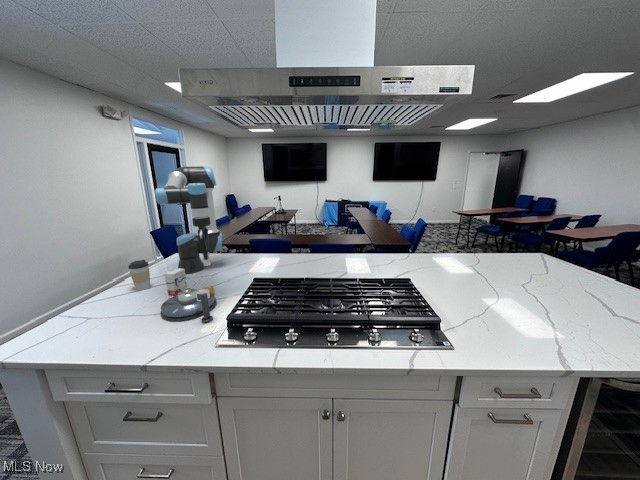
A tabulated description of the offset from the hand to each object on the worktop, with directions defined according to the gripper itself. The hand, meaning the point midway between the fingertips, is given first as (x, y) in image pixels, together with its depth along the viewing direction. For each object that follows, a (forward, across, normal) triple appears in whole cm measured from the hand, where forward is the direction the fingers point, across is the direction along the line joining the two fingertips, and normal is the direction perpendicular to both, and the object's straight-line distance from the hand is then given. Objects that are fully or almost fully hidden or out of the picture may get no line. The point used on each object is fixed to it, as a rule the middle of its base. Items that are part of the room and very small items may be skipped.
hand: (207, 265), depth 121 cm
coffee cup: (+17, -23, -38) cm, 48 cm away
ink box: (+17, -11, -18) cm, 27 cm away
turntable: (+16, +9, -8) cm, 20 cm away
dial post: (+17, +23, +1) cm, 28 cm away
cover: (+14, +9, -8) cm, 18 cm away
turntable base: (+17, +9, -8) cm, 21 cm away
